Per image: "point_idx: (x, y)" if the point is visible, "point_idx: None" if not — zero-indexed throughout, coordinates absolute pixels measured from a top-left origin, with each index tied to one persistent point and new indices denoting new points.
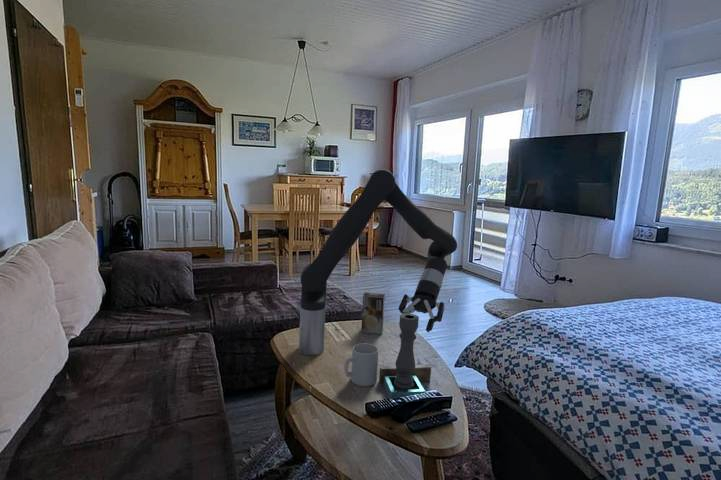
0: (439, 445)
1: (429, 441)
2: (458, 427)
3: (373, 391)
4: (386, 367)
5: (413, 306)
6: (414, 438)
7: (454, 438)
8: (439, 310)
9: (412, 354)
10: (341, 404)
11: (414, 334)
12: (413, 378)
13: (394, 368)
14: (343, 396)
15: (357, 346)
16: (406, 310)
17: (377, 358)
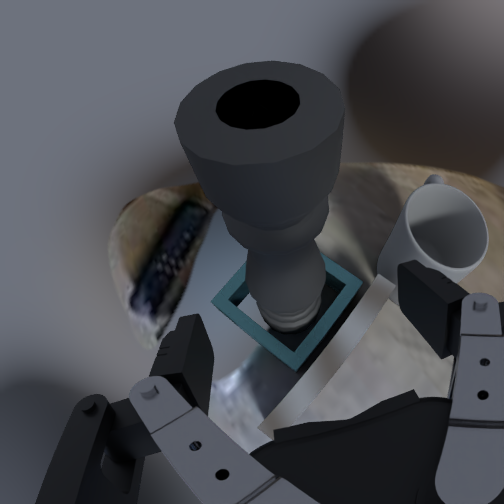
0: (133, 208)
1: (150, 203)
2: (119, 278)
3: (351, 249)
4: (374, 294)
5: (455, 380)
6: (175, 190)
7: (117, 243)
8: (71, 468)
9: (248, 253)
10: (352, 164)
11: (242, 226)
12: (283, 345)
13: (352, 312)
14: (376, 184)
15: (481, 229)
16: (471, 314)
17: (403, 255)
